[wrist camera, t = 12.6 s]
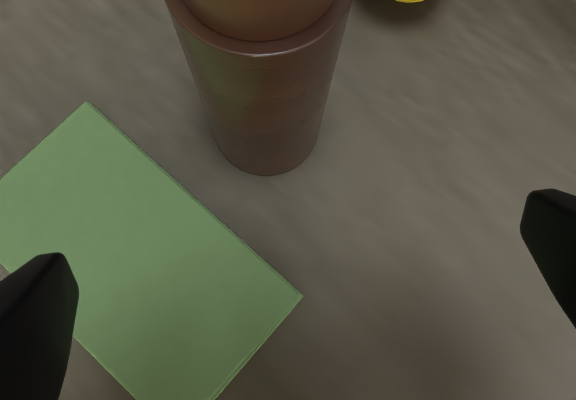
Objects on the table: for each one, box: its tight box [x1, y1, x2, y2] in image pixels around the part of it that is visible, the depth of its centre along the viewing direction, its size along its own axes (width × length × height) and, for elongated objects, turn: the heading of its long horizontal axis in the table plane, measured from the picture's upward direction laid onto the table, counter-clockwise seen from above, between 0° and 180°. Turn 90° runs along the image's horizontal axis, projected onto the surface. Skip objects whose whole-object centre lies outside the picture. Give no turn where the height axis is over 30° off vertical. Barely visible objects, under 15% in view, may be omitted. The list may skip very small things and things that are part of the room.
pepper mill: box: [165, 0, 352, 176], centre depth 16 cm, size 5×5×14 cm
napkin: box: [0, 102, 303, 400], centre depth 20 cm, size 8×14×1 cm, turn 48°
